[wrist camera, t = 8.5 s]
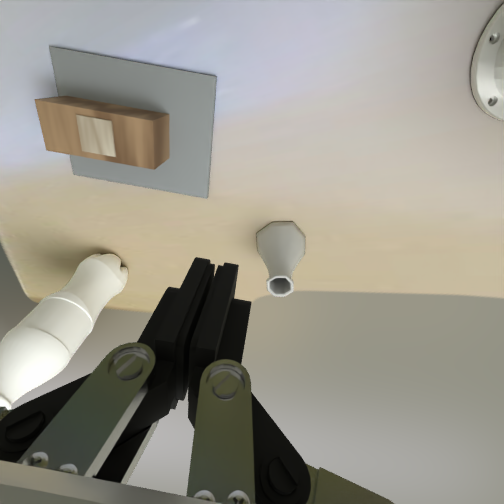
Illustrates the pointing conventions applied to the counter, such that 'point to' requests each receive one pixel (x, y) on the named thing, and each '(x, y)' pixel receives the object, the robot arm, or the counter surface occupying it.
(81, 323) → the water bottle
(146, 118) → the cardboard box
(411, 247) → the counter surface
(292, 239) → the flask
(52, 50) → the mat
